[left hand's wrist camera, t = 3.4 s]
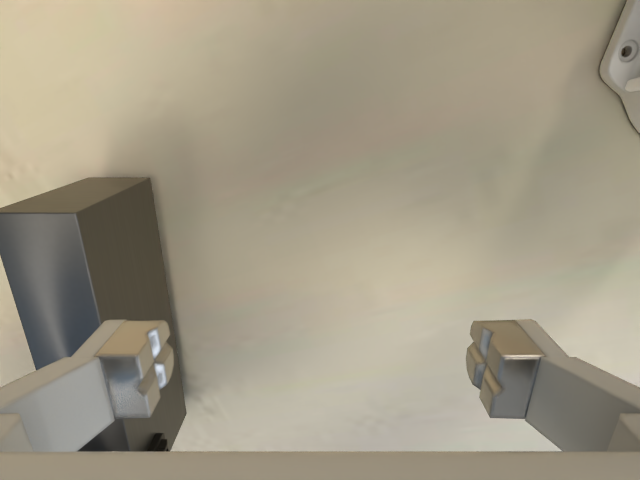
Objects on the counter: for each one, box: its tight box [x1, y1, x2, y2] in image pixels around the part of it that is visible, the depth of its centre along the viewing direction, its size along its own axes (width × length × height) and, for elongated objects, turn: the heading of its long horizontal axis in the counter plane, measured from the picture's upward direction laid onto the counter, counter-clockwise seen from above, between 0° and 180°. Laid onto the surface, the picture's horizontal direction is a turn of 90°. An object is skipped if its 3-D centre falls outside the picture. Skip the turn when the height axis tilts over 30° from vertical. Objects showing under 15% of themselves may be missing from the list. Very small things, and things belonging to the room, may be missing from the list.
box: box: [0, 178, 186, 452], centre depth 35 cm, size 28×6×11 cm, turn 0°
